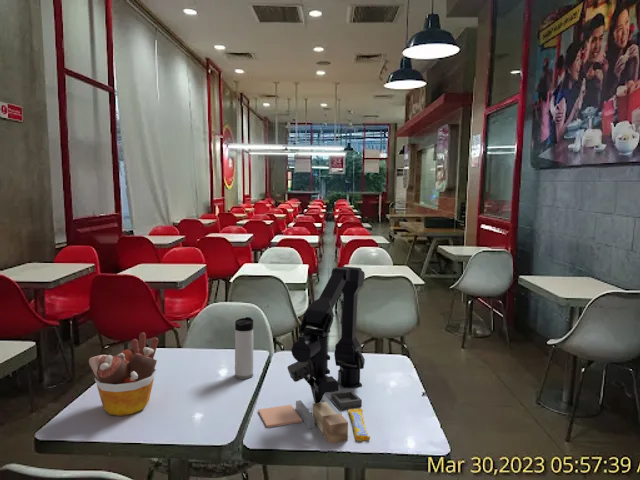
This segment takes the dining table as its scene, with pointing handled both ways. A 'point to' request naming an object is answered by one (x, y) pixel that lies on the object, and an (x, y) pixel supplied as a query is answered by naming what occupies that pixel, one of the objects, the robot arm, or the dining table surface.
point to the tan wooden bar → (321, 413)
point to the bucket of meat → (126, 377)
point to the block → (335, 428)
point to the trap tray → (346, 400)
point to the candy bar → (358, 424)
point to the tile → (279, 415)
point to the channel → (307, 415)
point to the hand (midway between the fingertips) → (316, 404)
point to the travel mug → (244, 348)
